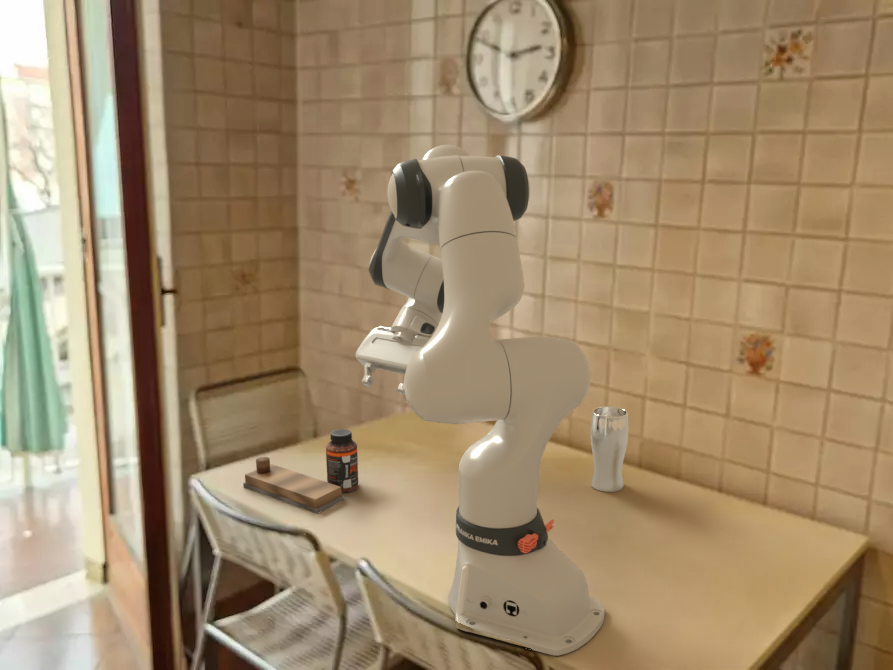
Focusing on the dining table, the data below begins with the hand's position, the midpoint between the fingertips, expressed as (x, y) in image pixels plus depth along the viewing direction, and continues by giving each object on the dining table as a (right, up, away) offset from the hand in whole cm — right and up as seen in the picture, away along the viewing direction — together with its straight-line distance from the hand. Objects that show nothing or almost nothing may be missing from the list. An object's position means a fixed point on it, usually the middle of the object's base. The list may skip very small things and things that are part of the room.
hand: (383, 389), depth 166 cm
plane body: (-17, -19, -8) cm, 27 cm away
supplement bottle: (-7, -19, -6) cm, 21 cm away
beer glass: (+43, -18, -6) cm, 48 cm away
